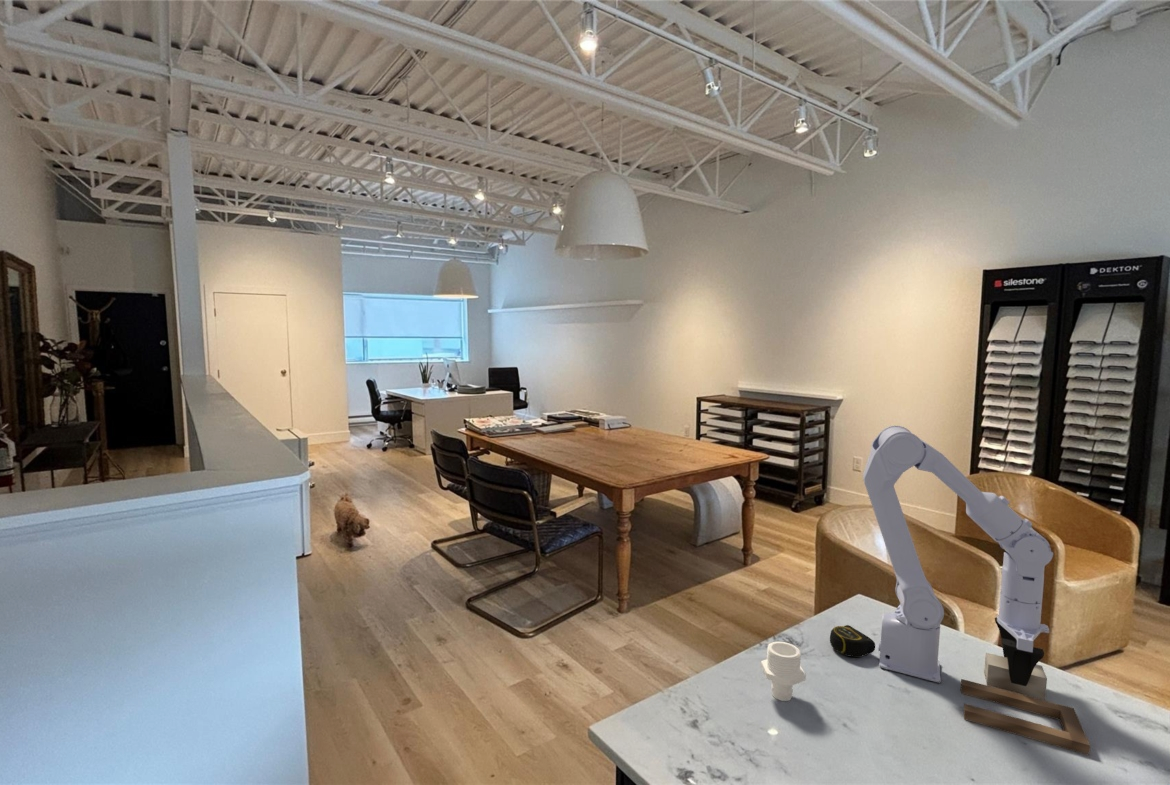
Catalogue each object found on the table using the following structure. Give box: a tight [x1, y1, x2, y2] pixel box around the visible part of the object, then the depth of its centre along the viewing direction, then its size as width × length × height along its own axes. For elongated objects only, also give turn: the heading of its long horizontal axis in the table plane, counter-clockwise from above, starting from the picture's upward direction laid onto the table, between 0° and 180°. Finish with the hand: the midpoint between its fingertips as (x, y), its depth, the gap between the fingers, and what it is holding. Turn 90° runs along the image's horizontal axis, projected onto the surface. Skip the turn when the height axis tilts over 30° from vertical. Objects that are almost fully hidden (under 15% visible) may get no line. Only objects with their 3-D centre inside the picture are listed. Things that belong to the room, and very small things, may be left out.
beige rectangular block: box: [983, 652, 1048, 701], centre depth 99 cm, size 8×4×4 cm, turn 60°
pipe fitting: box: [760, 641, 807, 702], centre depth 95 cm, size 6×7×8 cm
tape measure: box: [829, 624, 876, 658], centre depth 109 cm, size 7×7×4 cm
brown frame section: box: [960, 678, 1091, 756], centre depth 90 cm, size 15×10×2 cm, turn 60°
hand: (1015, 672), depth 99 cm, fingers open, 7 cm apart
